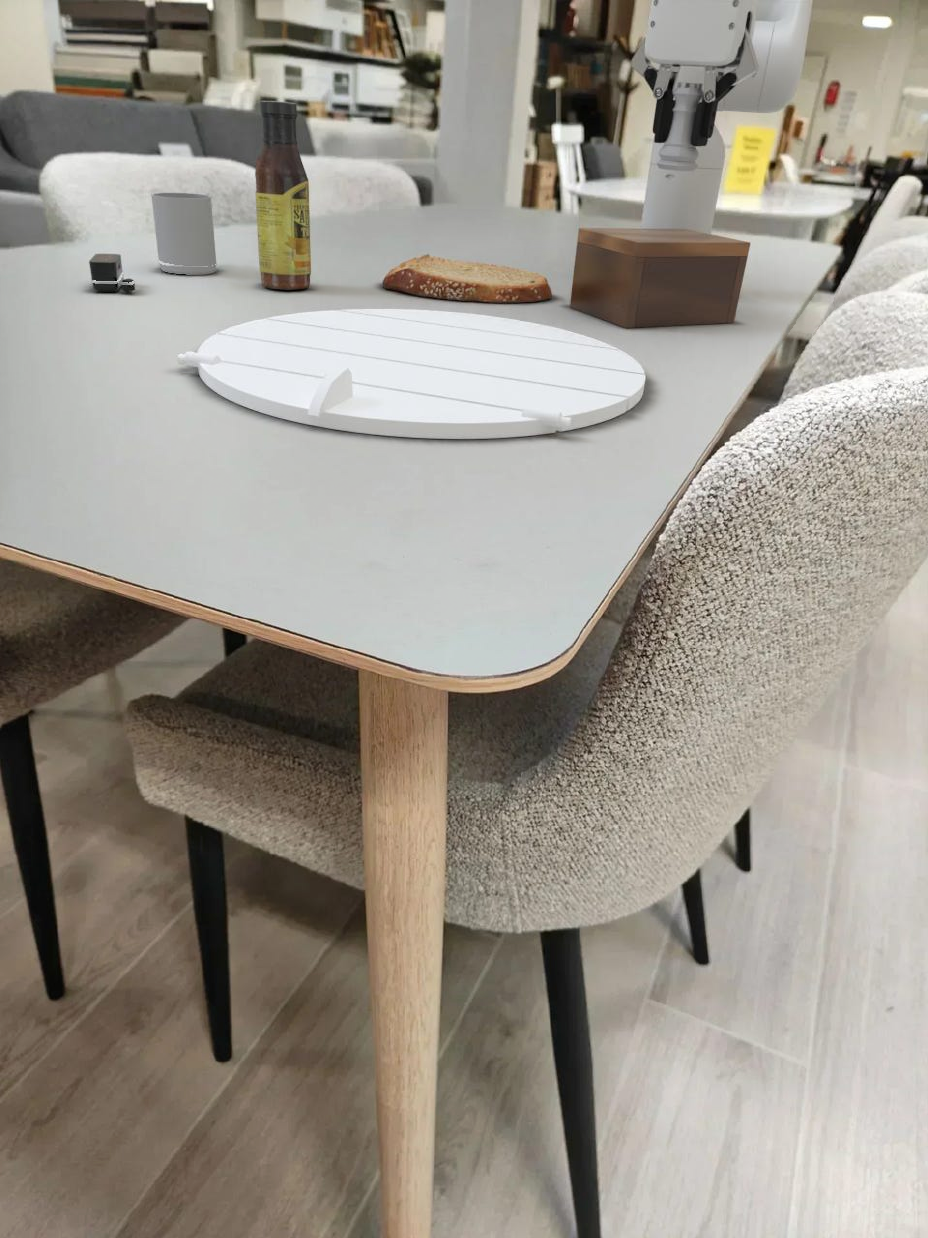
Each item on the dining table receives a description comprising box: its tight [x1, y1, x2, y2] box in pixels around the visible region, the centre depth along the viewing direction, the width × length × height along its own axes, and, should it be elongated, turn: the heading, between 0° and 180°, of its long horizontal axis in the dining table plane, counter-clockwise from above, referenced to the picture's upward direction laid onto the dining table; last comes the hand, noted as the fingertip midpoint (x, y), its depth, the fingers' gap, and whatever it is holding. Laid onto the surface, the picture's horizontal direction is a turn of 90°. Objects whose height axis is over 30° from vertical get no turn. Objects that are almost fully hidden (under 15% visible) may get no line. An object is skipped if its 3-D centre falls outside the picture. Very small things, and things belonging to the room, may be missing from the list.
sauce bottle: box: [254, 100, 312, 291], centre depth 102 cm, size 6×6×20 cm
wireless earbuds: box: [88, 253, 136, 293], centre depth 99 cm, size 5×7×3 cm, turn 13°
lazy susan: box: [176, 308, 647, 440], centre depth 76 cm, size 40×39×3 cm
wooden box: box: [569, 227, 751, 329], centre depth 103 cm, size 12×16×9 cm
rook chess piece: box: [657, 82, 704, 171], centre depth 92 cm, size 4×4×8 cm
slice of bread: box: [381, 253, 553, 304], centre depth 110 cm, size 18×18×4 cm
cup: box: [150, 192, 217, 276], centre depth 112 cm, size 7×10×9 cm
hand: (680, 141), depth 92 cm, fingers closed on rook chess piece, 3 cm apart
